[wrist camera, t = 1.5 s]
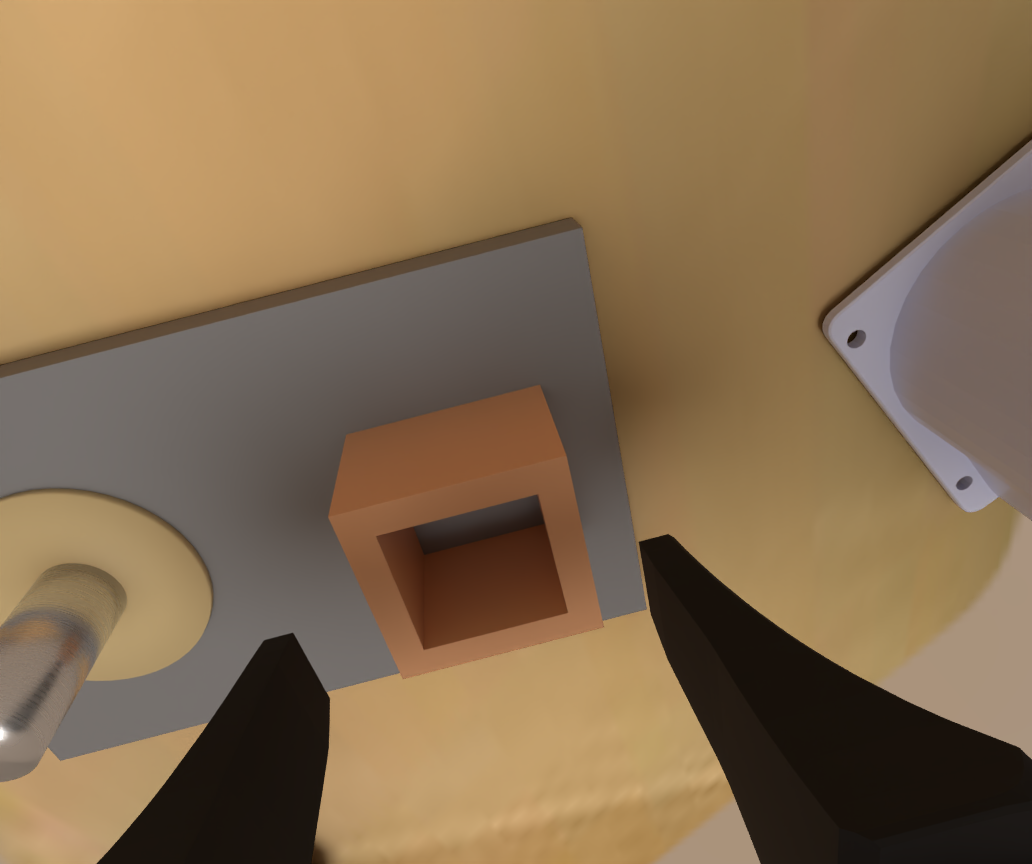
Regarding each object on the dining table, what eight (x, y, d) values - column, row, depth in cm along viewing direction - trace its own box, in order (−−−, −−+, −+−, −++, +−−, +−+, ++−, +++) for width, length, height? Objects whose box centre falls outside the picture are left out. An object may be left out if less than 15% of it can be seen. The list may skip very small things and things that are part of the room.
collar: (540, 384, 16) (566, 455, 13) (574, 537, 19) (604, 627, 16) (345, 434, 16) (327, 517, 13) (406, 580, 19) (402, 678, 16)
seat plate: (571, 217, 16) (584, 230, 14) (636, 583, 21) (649, 615, 20) (-196, 416, 16) (-253, 447, 14) (77, 727, 22) (55, 769, 20)
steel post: (163, 555, 19) (61, 740, 13) (121, 600, 19) (8, 795, 14) (88, 514, 18) (-51, 696, 13) (46, 563, 18) (-104, 757, 13)
